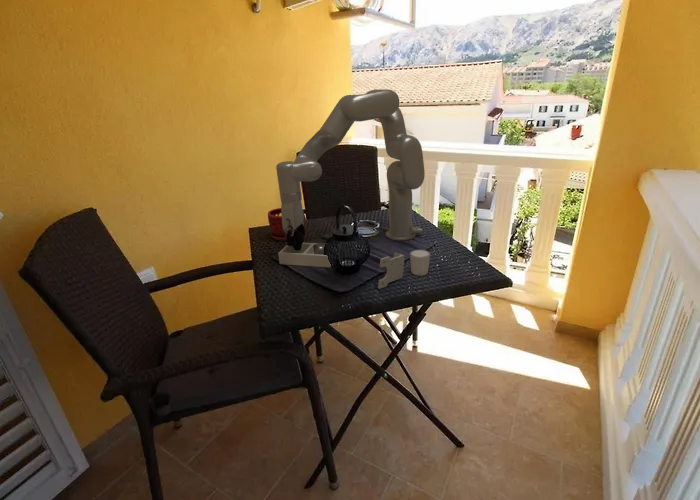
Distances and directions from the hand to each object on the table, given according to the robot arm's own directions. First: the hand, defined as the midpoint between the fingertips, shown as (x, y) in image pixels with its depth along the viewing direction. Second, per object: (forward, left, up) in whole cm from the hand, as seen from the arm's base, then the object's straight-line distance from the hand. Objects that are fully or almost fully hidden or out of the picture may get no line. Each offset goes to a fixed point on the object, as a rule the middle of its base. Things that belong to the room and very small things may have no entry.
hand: (296, 240), depth 141 cm
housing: (-5, 0, -8) cm, 9 cm away
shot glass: (-47, +4, -8) cm, 47 cm away
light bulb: (0, 0, -7) cm, 7 cm away
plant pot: (+14, -21, -8) cm, 27 cm away
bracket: (-37, +12, -8) cm, 40 cm away
